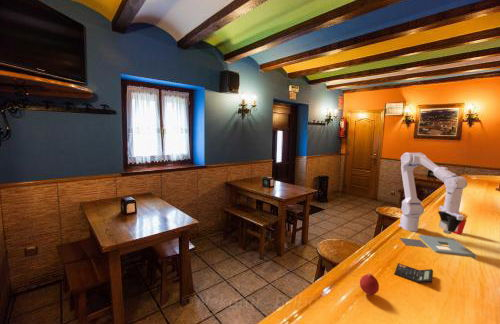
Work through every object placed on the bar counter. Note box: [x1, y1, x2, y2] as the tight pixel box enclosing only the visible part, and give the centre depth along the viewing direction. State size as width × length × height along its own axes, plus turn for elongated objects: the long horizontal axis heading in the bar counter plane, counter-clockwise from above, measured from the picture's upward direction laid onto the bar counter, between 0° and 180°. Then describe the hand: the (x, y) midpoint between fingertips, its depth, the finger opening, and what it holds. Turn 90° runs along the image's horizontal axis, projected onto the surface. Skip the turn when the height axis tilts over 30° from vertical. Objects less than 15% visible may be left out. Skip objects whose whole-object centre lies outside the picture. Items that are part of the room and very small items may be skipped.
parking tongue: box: [398, 237, 429, 249], centre depth 119 cm, size 8×10×1 cm
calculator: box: [393, 262, 434, 284], centre depth 94 cm, size 9×12×3 cm
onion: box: [359, 272, 380, 296], centre depth 82 cm, size 6×6×8 cm
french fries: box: [451, 211, 469, 236], centre depth 134 cm, size 8×4×12 cm, turn 34°
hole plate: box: [418, 234, 477, 260], centre depth 117 cm, size 16×16×2 cm
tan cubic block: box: [438, 219, 458, 235], centre depth 115 cm, size 5×5×5 cm
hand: (447, 228), depth 115 cm, fingers closed on tan cubic block, 5 cm apart
